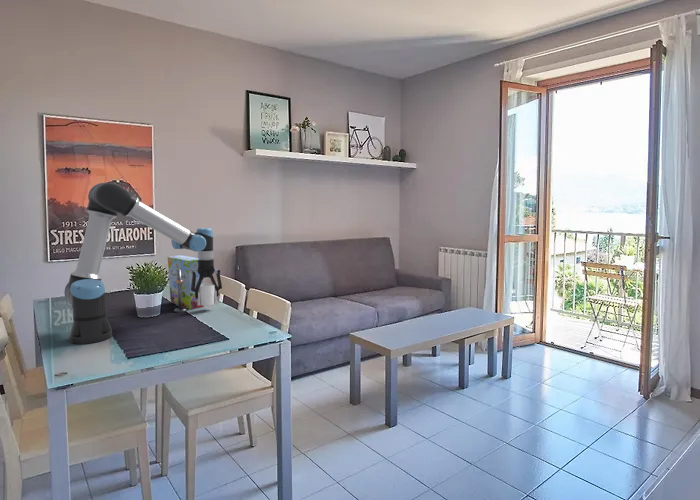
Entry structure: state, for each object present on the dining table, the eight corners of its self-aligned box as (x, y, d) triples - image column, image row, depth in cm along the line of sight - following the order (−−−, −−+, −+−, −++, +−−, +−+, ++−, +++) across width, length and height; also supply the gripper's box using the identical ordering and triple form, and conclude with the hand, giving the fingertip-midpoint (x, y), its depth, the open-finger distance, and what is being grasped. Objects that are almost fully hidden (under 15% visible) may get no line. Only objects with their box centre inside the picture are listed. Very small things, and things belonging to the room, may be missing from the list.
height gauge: (188, 311, 226) (186, 270, 224) (175, 313, 223) (173, 271, 221) (185, 309, 231) (183, 268, 229) (173, 310, 228) (171, 269, 226)
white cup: (218, 303, 229) (218, 284, 228) (206, 306, 222) (205, 287, 221) (208, 302, 233) (207, 282, 232) (195, 304, 227) (194, 285, 226)
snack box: (168, 303, 244) (166, 256, 241) (183, 300, 250) (181, 254, 247) (190, 309, 230) (187, 259, 227) (205, 306, 236) (203, 258, 233)
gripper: (224, 256, 234) (225, 300, 236) (182, 259, 223) (184, 304, 226) (228, 258, 227) (229, 302, 230) (186, 261, 217) (187, 307, 219)
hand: (207, 303), depth 228 cm, fingers closed on white cup, 8 cm apart
